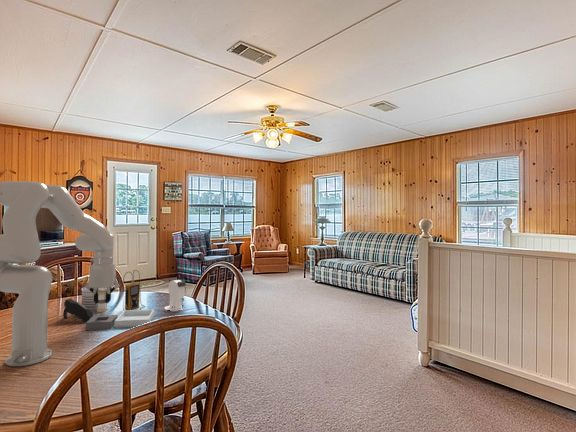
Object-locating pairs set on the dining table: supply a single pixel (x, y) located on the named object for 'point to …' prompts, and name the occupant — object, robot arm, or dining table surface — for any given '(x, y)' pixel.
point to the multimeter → (132, 294)
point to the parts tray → (134, 318)
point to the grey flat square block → (101, 322)
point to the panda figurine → (176, 294)
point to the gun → (76, 310)
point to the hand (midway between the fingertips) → (102, 302)
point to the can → (89, 300)
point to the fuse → (102, 301)
